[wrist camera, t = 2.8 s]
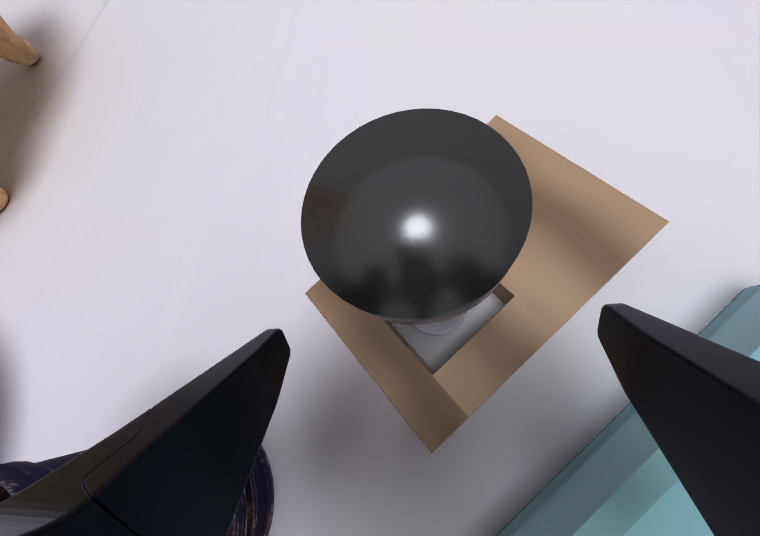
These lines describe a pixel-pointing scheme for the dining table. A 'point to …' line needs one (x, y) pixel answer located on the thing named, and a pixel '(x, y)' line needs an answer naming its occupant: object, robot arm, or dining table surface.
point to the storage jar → (248, 519)
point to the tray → (633, 465)
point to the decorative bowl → (17, 51)
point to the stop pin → (417, 217)
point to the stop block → (506, 293)
